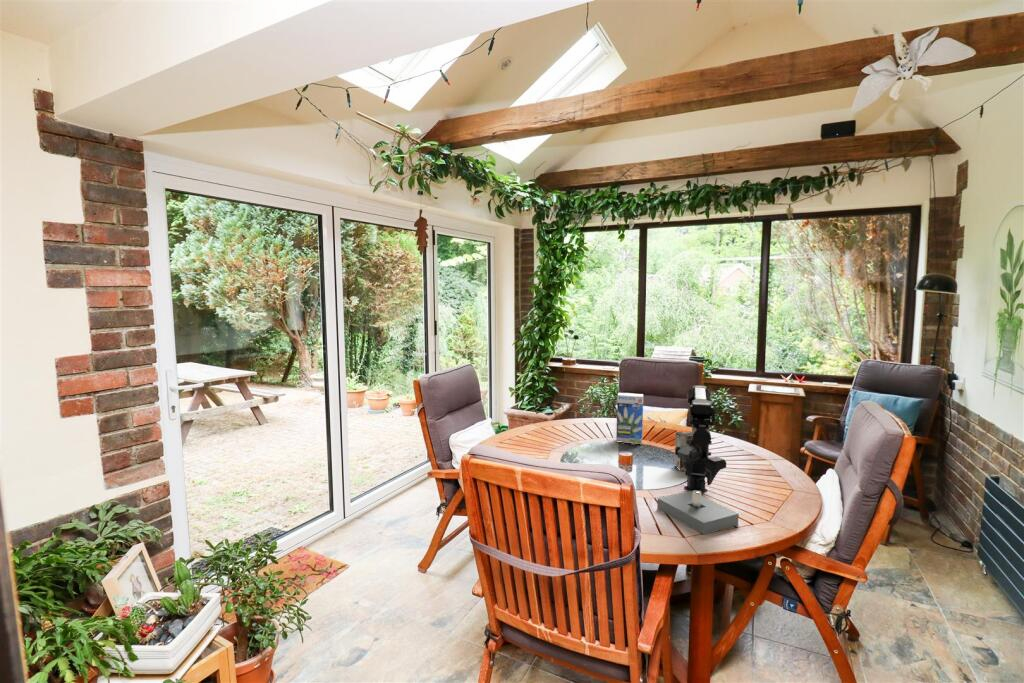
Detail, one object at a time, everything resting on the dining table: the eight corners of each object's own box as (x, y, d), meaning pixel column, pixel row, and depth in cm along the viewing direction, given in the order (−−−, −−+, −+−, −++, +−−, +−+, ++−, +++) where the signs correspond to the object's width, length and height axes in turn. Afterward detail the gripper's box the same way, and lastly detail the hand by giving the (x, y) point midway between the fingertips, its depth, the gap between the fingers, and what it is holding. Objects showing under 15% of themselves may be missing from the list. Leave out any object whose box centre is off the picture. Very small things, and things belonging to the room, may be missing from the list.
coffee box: (693, 465, 229) (695, 431, 227) (699, 470, 223) (700, 435, 221) (674, 466, 229) (675, 431, 227) (679, 471, 222) (680, 435, 221)
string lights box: (615, 443, 263) (616, 394, 261) (617, 439, 271) (618, 392, 268) (641, 445, 260) (643, 396, 257) (642, 441, 267) (643, 393, 264)
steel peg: (689, 515, 178) (690, 491, 177) (696, 513, 179) (696, 489, 178) (696, 518, 175) (697, 494, 175) (702, 517, 177) (703, 492, 176)
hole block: (657, 508, 184) (657, 498, 183) (689, 500, 191) (690, 490, 190) (703, 534, 164) (704, 522, 164) (738, 524, 171) (738, 513, 171)
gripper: (664, 433, 181) (662, 475, 182) (703, 448, 164) (702, 494, 165) (687, 429, 185) (686, 470, 187) (728, 443, 168) (726, 488, 170)
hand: (698, 480), depth 177 cm, fingers open, 9 cm apart
